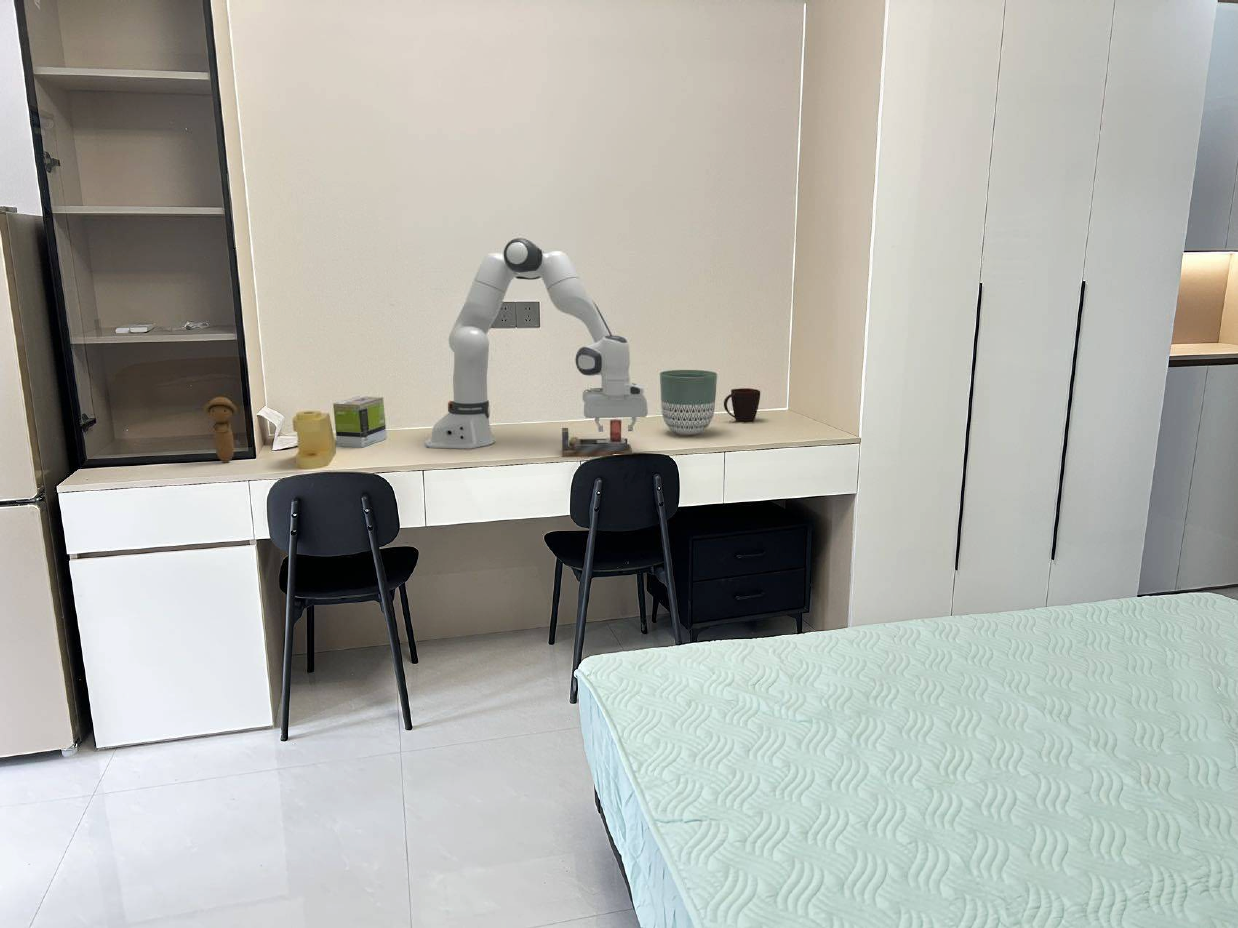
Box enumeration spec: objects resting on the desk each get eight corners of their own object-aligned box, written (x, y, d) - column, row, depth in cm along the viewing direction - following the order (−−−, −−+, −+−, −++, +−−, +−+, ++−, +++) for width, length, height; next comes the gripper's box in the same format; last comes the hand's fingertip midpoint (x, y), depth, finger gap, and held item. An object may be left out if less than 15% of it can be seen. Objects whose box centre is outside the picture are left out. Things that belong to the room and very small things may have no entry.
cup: (763, 423, 330) (764, 391, 327) (730, 425, 324) (731, 393, 322) (749, 418, 339) (750, 387, 336) (717, 421, 333) (718, 389, 330)
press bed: (562, 456, 275) (562, 433, 273) (562, 449, 285) (561, 427, 283) (632, 455, 276) (632, 432, 275) (630, 448, 286) (630, 426, 284)
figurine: (207, 465, 263) (200, 399, 258) (212, 460, 270) (205, 395, 265) (240, 464, 265) (233, 398, 261) (244, 458, 272) (237, 394, 267)
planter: (725, 437, 304) (727, 375, 299) (674, 441, 297) (675, 378, 292) (699, 427, 322) (700, 368, 317) (650, 431, 315) (650, 371, 310)
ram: (597, 450, 277) (597, 422, 275) (596, 445, 283) (596, 418, 281) (625, 449, 277) (625, 422, 275) (624, 445, 284) (624, 418, 282)
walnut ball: (569, 449, 278) (569, 438, 277) (569, 447, 281) (569, 436, 280) (580, 449, 278) (580, 438, 277) (580, 447, 282) (580, 436, 281)
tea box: (362, 437, 303) (359, 395, 300) (387, 439, 300) (384, 396, 297) (335, 446, 290) (332, 402, 286) (362, 448, 287) (359, 403, 283)
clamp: (326, 468, 260) (322, 415, 256) (294, 469, 259) (289, 416, 255) (336, 453, 279) (332, 404, 276) (305, 454, 278) (301, 404, 274)
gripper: (582, 389, 272) (583, 433, 276) (648, 389, 274) (648, 432, 277) (582, 386, 278) (582, 429, 282) (646, 386, 280) (646, 428, 283)
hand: (615, 431), depth 279 cm, fingers open, 8 cm apart
